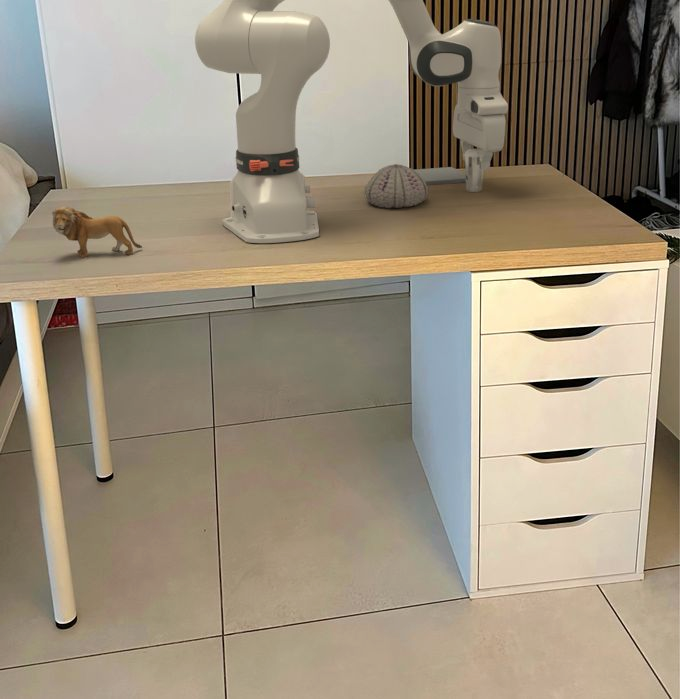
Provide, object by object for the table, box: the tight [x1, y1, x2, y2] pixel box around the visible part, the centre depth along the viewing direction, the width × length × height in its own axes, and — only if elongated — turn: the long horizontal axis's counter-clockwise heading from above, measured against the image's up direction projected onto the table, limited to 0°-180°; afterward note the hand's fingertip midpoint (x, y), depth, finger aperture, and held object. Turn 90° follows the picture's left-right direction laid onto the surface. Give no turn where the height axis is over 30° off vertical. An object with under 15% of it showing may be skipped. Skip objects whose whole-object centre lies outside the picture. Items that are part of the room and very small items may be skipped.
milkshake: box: [464, 148, 484, 193], centre depth 199 cm, size 4×5×10 cm
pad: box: [413, 166, 466, 186], centre depth 213 cm, size 13×13×1 cm
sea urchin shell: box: [364, 163, 429, 209], centre depth 191 cm, size 13×14×8 cm
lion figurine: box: [51, 206, 143, 258], centre depth 160 cm, size 15×5×9 cm, turn 106°
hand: (475, 165), depth 200 cm, fingers open, 8 cm apart
